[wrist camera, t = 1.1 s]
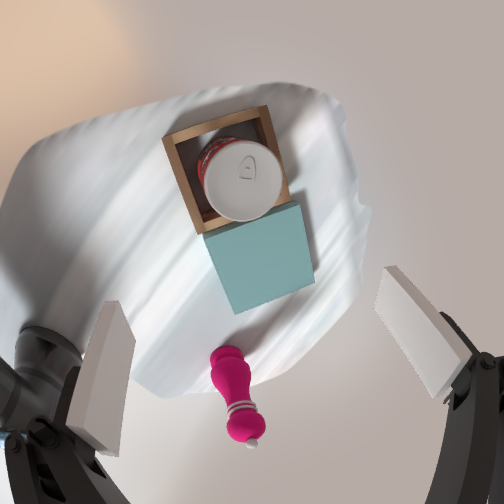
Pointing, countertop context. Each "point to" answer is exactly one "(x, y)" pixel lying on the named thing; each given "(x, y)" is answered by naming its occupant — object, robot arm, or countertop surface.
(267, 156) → the canned food
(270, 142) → the collar
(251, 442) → the pepper mill
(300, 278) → the plate
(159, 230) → the countertop surface
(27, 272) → the countertop surface
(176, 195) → the countertop surface
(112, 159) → the countertop surface
